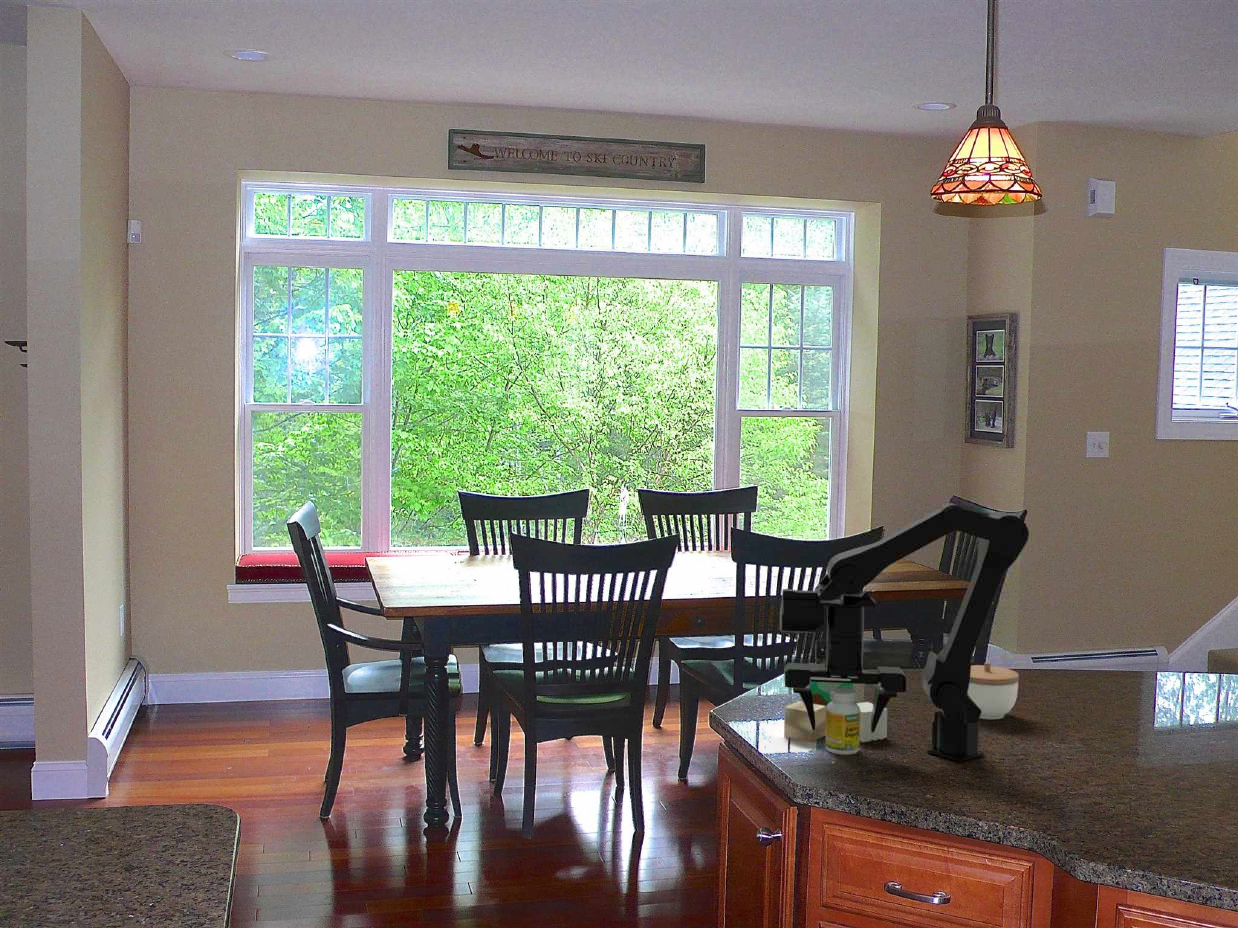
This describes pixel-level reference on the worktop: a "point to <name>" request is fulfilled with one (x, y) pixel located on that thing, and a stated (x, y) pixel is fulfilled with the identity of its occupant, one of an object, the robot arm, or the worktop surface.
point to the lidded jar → (993, 690)
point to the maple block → (804, 722)
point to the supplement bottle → (842, 722)
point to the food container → (825, 687)
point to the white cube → (866, 723)
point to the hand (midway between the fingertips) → (842, 730)
